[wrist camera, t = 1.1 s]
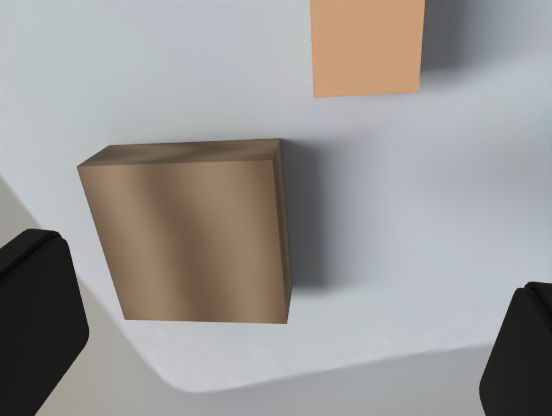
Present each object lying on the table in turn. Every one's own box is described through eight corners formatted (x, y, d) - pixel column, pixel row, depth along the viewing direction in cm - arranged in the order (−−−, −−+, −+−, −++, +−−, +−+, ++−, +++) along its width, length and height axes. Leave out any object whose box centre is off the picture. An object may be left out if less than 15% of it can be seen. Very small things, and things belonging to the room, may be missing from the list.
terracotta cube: (408, -23, 22) (427, -28, 17) (402, 74, 24) (418, 92, 20) (314, -14, 23) (309, -17, 18) (317, 80, 25) (313, 97, 20)
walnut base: (280, 138, 27) (272, 159, 23) (292, 287, 32) (286, 323, 28) (108, 145, 28) (76, 166, 25) (146, 285, 34) (124, 319, 30)
